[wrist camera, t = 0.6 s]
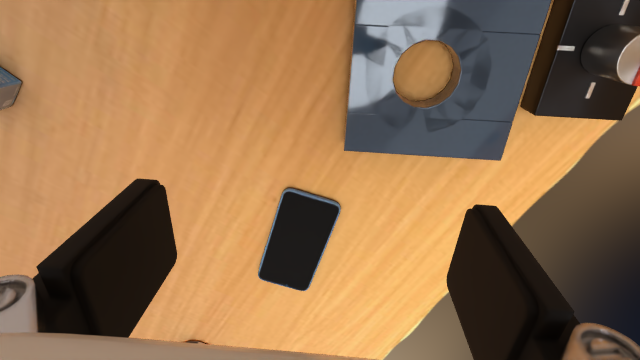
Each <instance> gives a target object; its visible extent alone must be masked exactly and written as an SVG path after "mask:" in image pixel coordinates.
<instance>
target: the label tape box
mask: <svg viewBox="0 0 640 360" xmlns="http://www.w3.org/2000/svg"><path fill="white" fill-rule="evenodd" d="M21 84H22V82H21V81H20V80H18V79H17V78H16V77H14V76H13V75H11V74H10V73H8V72H7V71H5V70H4V69H2V68H1V67H0V110H2V109H5V108H9V107H11V106H12V104H13V102H14V100H15V98H16V96H17V94H18V91H19V89H20V87H21Z"/></svg>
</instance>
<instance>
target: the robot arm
mask: <svg viewBox="0 0 640 360" xmlns="http://www.w3.org/2000/svg"><path fill="white" fill-rule="evenodd" d="M176 259H177V250H176V245H175V239H174V234H173V228H172V223H171V217H170V211H169V206H168V200H167V195H166V190H165V187H164V186H163V185H160V183H159V181H157V180H149V179H136V180H135V181H134V182H132V183H131V184H130V185H129V186H128V187H127V188H126V189H124V190H123V191H122V192H121V193H120V194H119V195H118V196H116V197H115V198H114V199H113V200H112V201H111V202H110V203H108V204H107V205H106V206H105V207H104V208H103V209H102V210H100V211H99V212H98V213H97V214H96V215H95V216H94V217H92V218H91V219H90V220H89V221H88V222H87V223H86V224H84V225H83V226H82V227H81V228H80V229H79V230H78V231H77V232H75V233H74V234H73V235H72V236H71V237H70V238H69V239H67V240H66V241H65V242H64V243H63V244H62V245H61V246H59V247H58V248H57V249H56V250H55V251H54V252H53V253H51V254H50V255H49V256H48V257H47V258H46V259H45V260H43V261H42V262H41V263H40V264H39V265H38V266H37V269H38V271H39V273H38V274H37V275H36V276H35V277H34V278H33V279H32V278H30V277H28V276H25V275H7V276H3V277H0V360H377V359H366V358H356V357H345V356H334V355H323V354H312V353H301V352H290V351H278V350H267V349H256V348H244V347H233V346H221V345H209V344H197V343H185V342H173V341H161V340H149V339H137V338H128V337H129V336H130V334H131V333H132V331H133V329H134V328H135V326H136V325H137V323H138V321H139V320H140V318H141V317H142V315H143V314H144V312H145V310H146V309H147V307H148V306H149V304H150V302H151V301H152V299H153V298H154V296H155V295H156V293H157V291H158V290H159V288H160V287H161V285H162V283H163V282H164V280H165V279H166V277H167V276H168V274H169V272H170V271H171V269H172V268H173V266H174V264H175V262H176ZM447 287H448V290H449V292H450V295H451V298H452V301H453V303H454V306H455V309H456V312H457V314H458V317H459V320H460V323H461V326H462V328H463V331H464V334H465V337H466V339H467V342H468V345H469V348H470V350H471V353H472V356H473V359H474V360H640V347H639V346H638V345H637V344H636V343H634V342H633V341H632V340H631V339H629V338H628V337H626V336H624V335H623V334H621V333H619V332H617V331H615V330H612V329H610V328H608V327H606V326H602V325H598V324H594V323H582V324H580V323H579V322H578V320H577V319H576V317H575V316H574V315H573V314H574V310H573V309H572V308H571V307H570V305H569V304H568V302H567V301H566V300H565V298H564V297H563V296H562V294H561V293H560V291H559V290H558V289H557V287H556V286H555V285H554V283H553V282H552V281H551V279H550V278H549V277H548V275H547V274H546V272H545V271H544V270H543V268H542V267H541V266H540V264H539V263H538V262H537V260H536V259H535V258H534V256H533V255H532V253H531V252H530V251H529V249H528V248H527V247H526V245H525V244H524V243H523V241H522V240H521V239H520V237H519V236H518V235H517V233H516V232H515V231H514V229H513V228H512V226H511V225H510V224H509V222H508V221H507V220H506V218H505V217H504V215H503V214H502V213H501V211H500V210H499V209H498V208H497V207H496V206H489V205H474V207H473V208H472V209H468V210H467V212H466V214H465V218H464V221H463V224H462V227H461V231H460V234H459V237H458V241H457V244H456V247H455V251H454V254H453V257H452V261H451V264H450V267H449V271H448V274H447Z"/></svg>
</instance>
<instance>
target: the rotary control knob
mask: <svg viewBox="0 0 640 360" xmlns="http://www.w3.org/2000/svg"><path fill="white" fill-rule="evenodd" d="M581 63H582V65H583V67H584V69H585V70H586V71H588V72H589V73H592V74H595V75H598V76H602V77H605V78H608V79H612V80H615V81H618V82H621V83H625V84H628V85H633V86H640V27H637V26H626V25H609V26H606V27H603V28H602V29H600V30H598V31H597V32H595V33H594V34H593V35H592V36H591V37H590V38H589V39H588V40H587V42H586V43H585V45H584V47H583V49H582V53H581Z"/></svg>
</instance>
